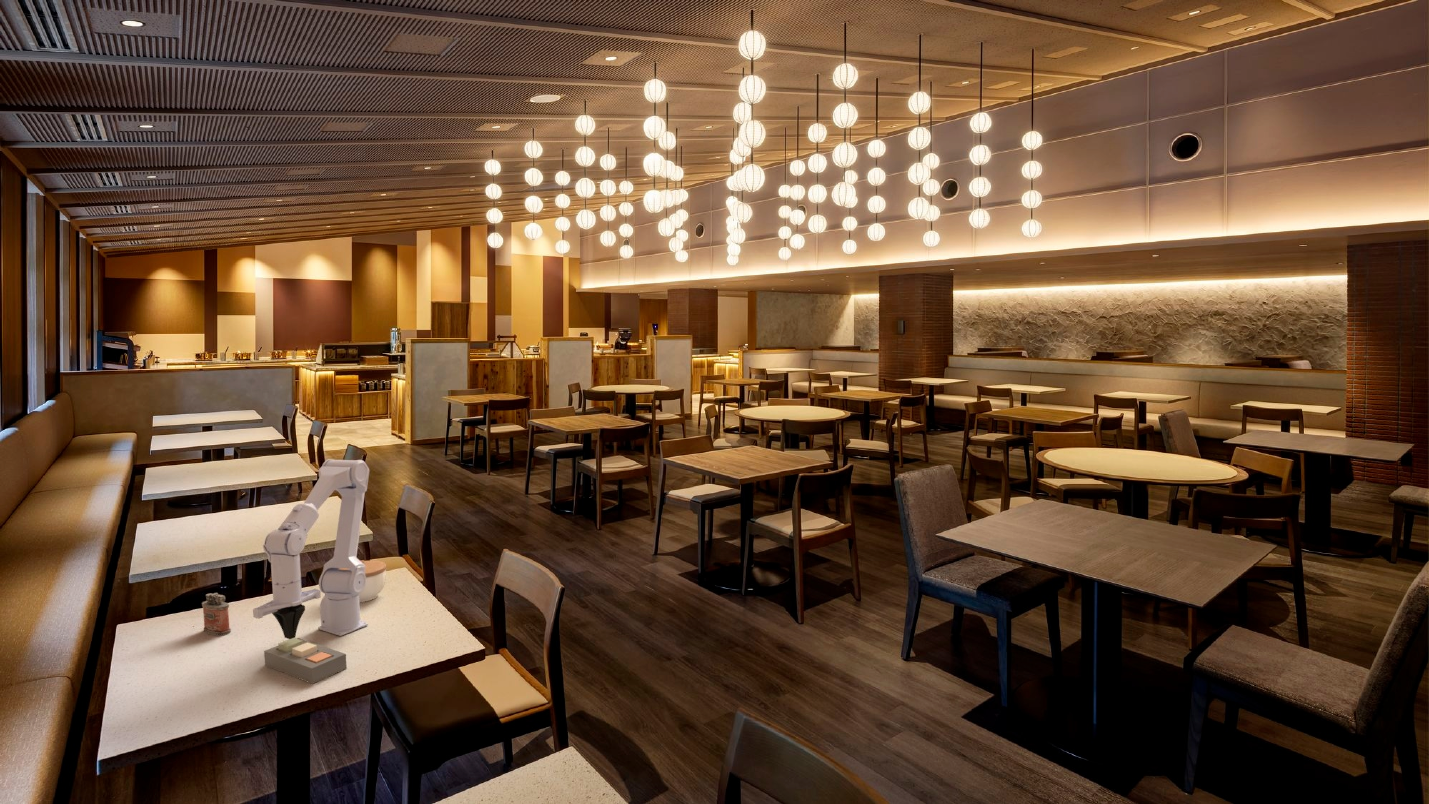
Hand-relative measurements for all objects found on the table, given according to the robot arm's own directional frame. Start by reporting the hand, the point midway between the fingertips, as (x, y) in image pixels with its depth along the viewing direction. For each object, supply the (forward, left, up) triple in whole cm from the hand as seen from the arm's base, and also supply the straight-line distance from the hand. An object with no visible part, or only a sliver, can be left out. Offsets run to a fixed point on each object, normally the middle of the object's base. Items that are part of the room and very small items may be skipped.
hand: (290, 637), depth 165 cm
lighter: (-34, +1, -6) cm, 34 cm away
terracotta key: (+11, 0, -5) cm, 12 cm away
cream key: (+5, 0, -4) cm, 7 cm away
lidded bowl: (-22, +34, -6) cm, 41 cm away
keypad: (+5, 0, -6) cm, 8 cm away
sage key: (0, 0, -4) cm, 4 cm away
